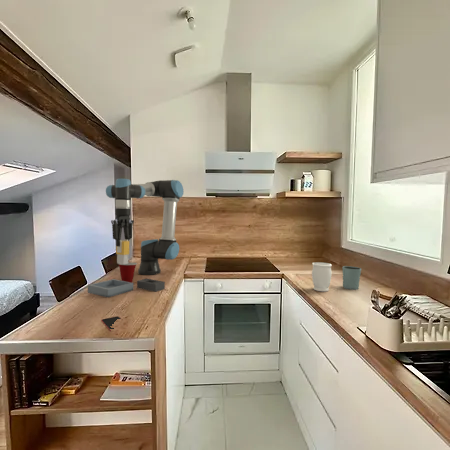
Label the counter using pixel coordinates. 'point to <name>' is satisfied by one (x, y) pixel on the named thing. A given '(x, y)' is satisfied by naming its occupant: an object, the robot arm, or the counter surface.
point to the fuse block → (151, 285)
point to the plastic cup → (127, 271)
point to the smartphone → (110, 321)
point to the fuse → (123, 253)
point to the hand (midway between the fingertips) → (122, 251)
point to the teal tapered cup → (351, 277)
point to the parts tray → (110, 288)
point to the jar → (321, 276)
